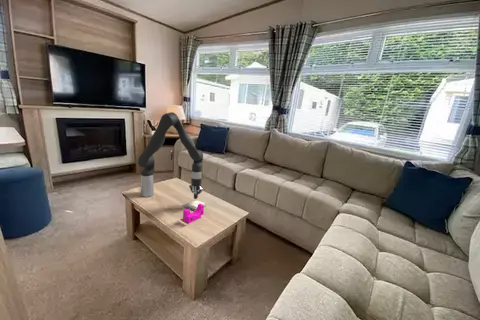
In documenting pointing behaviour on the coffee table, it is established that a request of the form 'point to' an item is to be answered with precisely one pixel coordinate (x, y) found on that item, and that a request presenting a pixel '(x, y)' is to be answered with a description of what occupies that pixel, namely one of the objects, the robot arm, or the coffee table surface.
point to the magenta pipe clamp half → (193, 214)
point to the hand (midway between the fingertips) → (195, 198)
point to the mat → (189, 207)
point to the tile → (195, 204)
